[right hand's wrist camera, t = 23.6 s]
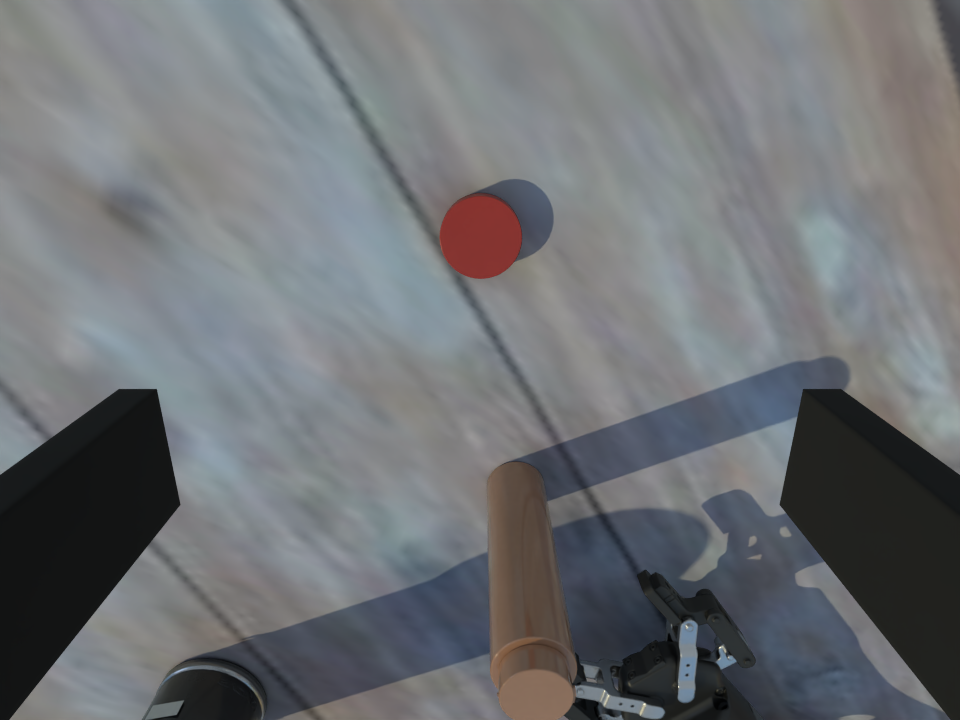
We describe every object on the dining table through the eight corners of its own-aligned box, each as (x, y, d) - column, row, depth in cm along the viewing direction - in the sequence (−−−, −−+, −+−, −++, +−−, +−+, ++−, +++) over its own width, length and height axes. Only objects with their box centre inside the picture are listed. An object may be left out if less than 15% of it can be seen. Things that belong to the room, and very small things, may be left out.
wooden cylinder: (490, 513, 48) (496, 735, 31) (483, 464, 47) (484, 668, 29) (546, 507, 48) (585, 726, 30) (541, 457, 46) (578, 658, 29)
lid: (536, 226, 40) (538, 230, 39) (487, 287, 42) (487, 294, 40) (473, 176, 39) (473, 178, 37) (425, 240, 41) (423, 245, 39)
